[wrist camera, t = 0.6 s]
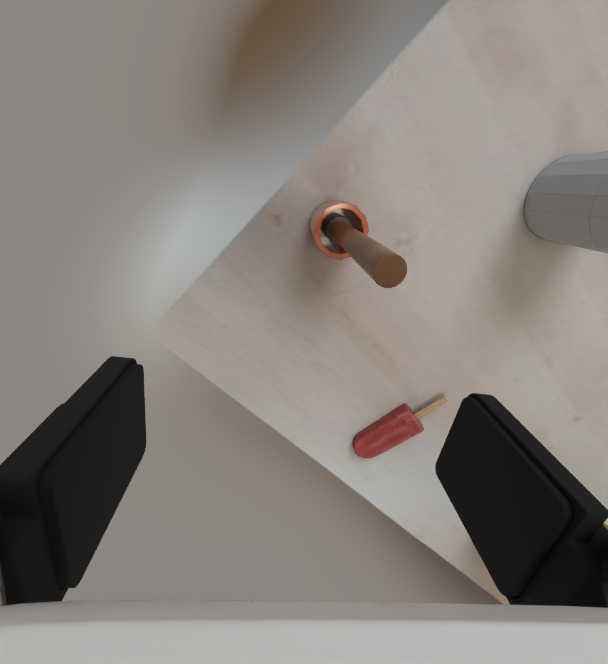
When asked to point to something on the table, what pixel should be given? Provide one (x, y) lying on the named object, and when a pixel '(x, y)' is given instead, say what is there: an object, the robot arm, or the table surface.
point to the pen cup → (343, 209)
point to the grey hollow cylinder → (571, 202)
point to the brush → (365, 251)
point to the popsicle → (391, 430)
